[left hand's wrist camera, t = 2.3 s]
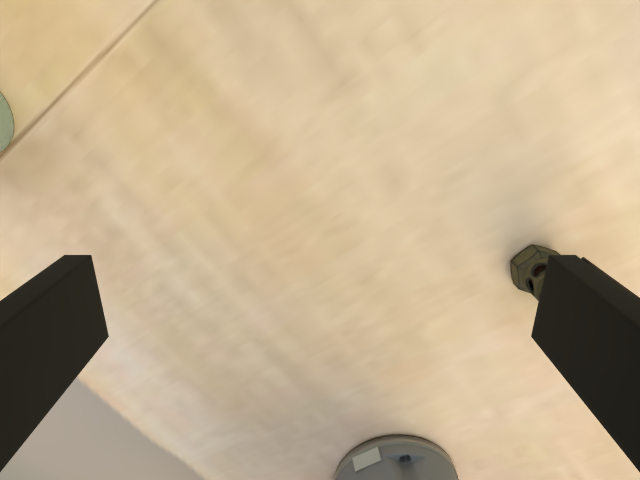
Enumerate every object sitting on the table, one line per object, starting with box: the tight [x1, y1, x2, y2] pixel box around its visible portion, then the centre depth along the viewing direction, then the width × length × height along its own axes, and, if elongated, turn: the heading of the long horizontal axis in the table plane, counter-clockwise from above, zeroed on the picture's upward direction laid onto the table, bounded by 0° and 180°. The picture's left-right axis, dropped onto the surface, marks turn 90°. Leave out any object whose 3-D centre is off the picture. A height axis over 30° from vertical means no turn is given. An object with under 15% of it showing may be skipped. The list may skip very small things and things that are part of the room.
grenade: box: [511, 245, 640, 301], centre depth 36 cm, size 9×6×15 cm, turn 134°
